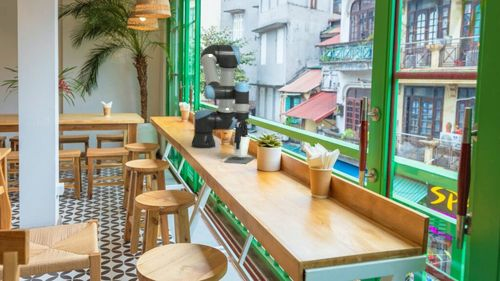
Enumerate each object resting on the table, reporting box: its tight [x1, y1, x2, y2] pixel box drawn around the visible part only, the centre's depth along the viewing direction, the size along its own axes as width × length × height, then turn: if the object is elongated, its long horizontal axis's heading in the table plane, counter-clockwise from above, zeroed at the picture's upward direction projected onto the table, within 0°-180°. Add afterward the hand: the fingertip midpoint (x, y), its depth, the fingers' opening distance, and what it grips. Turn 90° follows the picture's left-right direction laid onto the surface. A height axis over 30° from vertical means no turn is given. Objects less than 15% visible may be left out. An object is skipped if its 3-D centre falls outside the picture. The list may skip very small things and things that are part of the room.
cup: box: [231, 134, 252, 157], centre depth 245 cm, size 10×10×11 cm
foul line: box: [220, 154, 235, 163], centre depth 249 cm, size 18×1×1 cm, turn 164°
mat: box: [223, 155, 256, 165], centre depth 246 cm, size 18×12×1 cm, turn 164°
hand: (241, 153), depth 245 cm, fingers closed on cup, 9 cm apart
